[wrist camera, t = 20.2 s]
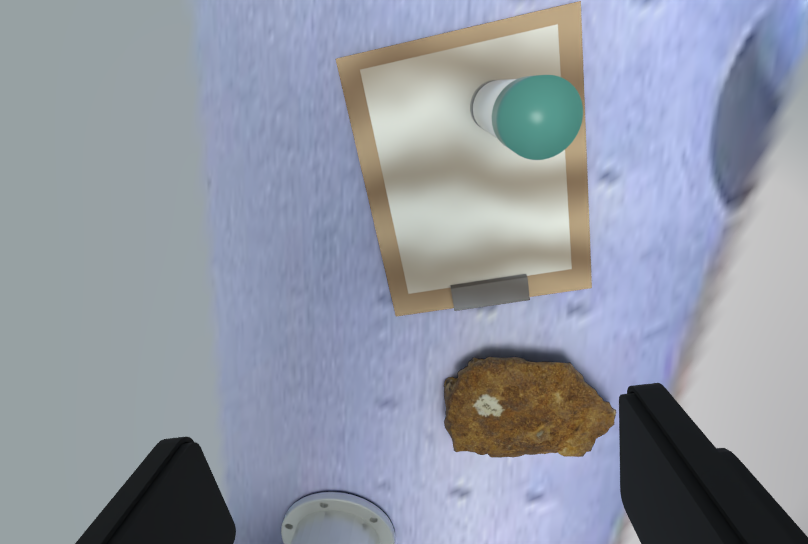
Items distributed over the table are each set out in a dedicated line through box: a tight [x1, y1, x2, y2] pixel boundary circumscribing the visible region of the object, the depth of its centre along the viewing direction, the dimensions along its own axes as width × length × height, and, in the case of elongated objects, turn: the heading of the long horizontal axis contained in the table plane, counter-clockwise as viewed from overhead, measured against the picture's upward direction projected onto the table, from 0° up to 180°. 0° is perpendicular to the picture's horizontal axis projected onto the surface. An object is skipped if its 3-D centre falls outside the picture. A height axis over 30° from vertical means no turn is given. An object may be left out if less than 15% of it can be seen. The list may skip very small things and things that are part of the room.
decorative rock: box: [444, 357, 616, 457], centre depth 38 cm, size 11×4×15 cm
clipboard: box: [336, 1, 592, 316], centre depth 31 cm, size 20×16×2 cm
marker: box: [470, 75, 583, 160], centre depth 23 cm, size 3×3×12 cm
